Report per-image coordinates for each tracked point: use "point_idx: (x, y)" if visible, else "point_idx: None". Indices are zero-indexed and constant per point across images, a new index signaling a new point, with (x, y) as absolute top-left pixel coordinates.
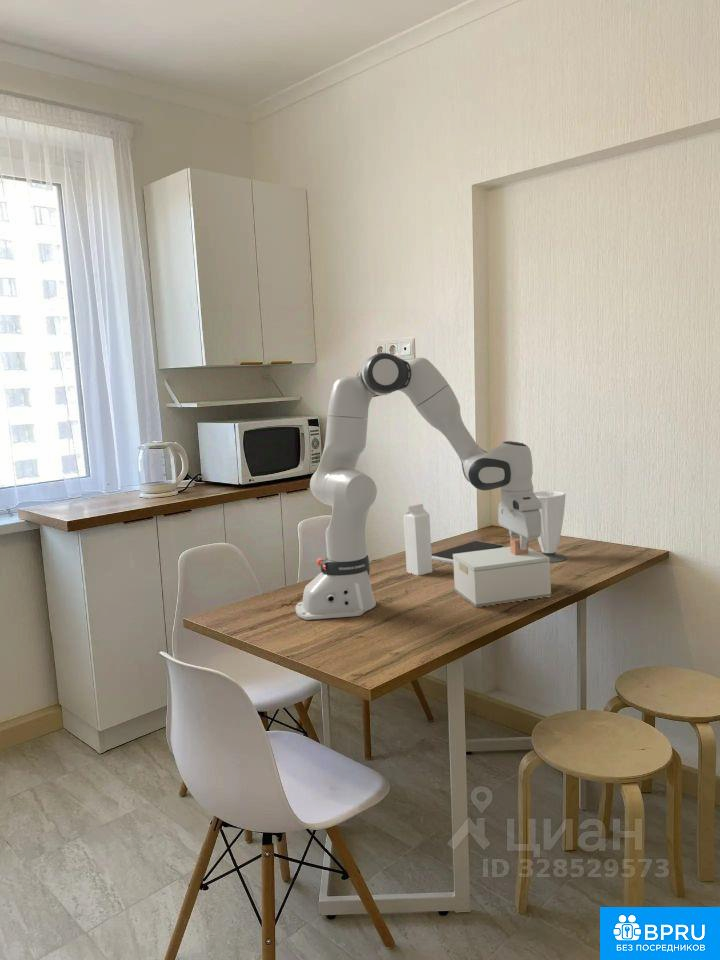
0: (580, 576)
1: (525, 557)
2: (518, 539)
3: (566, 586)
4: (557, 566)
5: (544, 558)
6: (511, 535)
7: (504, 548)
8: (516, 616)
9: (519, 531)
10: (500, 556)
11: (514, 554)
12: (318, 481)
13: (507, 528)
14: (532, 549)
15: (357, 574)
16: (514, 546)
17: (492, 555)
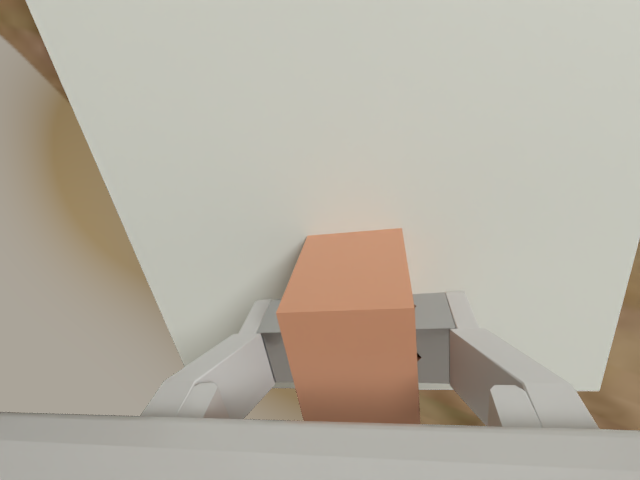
0: (459, 422)
1: (219, 276)
2: (344, 370)
3: None
4: (630, 421)
5: (183, 360)
6: (496, 368)
7: (592, 228)
8: (50, 59)
9: (46, 460)
10: (302, 94)
11: (322, 234)
12: None
13: (597, 440)
14: (422, 388)
15: None
16: (303, 274)
17: (371, 13)
